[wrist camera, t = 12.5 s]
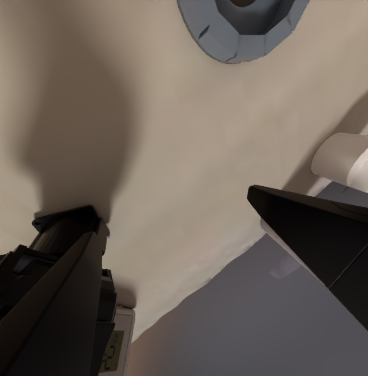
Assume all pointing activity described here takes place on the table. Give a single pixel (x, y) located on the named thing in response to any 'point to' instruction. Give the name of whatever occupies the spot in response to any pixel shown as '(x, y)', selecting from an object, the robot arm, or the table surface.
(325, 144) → the cylinder with rectangular tab
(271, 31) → the ceramic ring dish
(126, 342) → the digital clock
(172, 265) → the table surface
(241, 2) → the brown tapered cylinder
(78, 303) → the robot arm
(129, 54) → the table surface
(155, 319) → the table surface
